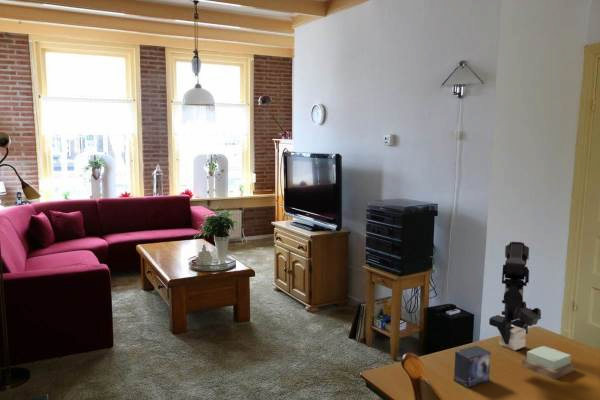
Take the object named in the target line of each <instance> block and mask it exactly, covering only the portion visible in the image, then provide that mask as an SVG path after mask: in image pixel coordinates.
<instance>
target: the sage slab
mask: <svg viewBox="0 0 600 400" xmlns="http://www.w3.org/2000/svg"><path fill="white" fill-rule="evenodd" d="M571 355H572V354H569V353H566V352H563V351H560V350H558V349H554V348H552V347H549V346H546V345H541V346H539V347H536V348H533V349H530V350H528V351H526V358H527V360H529V361H532V362H534V363H536V364H539V365H541V366H544V367H546V368H549V369H551V370H556V369H558V368H560V367H563V366H565V365H568V364H570V363H571V359H572V358H571Z"/></svg>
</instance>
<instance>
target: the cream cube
mask: <svg viewBox="0 0 600 400" xmlns="http://www.w3.org/2000/svg"><path fill="white" fill-rule="evenodd" d="M511 326H512V327H514V328H513V329H512V330H511V331H510V338H509V343H508V344H505V342H504V340H503V338H502V336H501V334H500V332H499V337H498V345H499V346H502V347H504V346H505V347H504V348H508V349H509V350H512V349H513V351H515V350H517V349H519V348H522V347H525V346H526V335H527V334H526V329H523V328H520V327H517V326H514V325H511ZM525 348H526V347H525ZM522 349H523V348H522ZM517 351H518V350H517Z"/></svg>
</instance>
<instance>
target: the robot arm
mask: <svg viewBox="0 0 600 400" xmlns="http://www.w3.org/2000/svg"><path fill="white" fill-rule="evenodd" d="M504 249H505V250H504V258H505V263H504V264H503V265H502V273H501V274H502V275H501V284H504V285H505V286H504V289H505V290H504V294H503V299H501V304H504V308H503V309H504V310H501V315H499V314H496V315H494V316H491V317H490V318H489V319H488V322H489V323H488V324H489V325H490V326H493V327H495V328H497V330H498V332H499V333H500V334H501V336H502V338H503V340H504V342H505V344H508V343H509V338H510V331H511V330H512V329H513V328H514V327H512V326H511V325H514V326H517V327H520V328H523V329H526V335H527V334H528V332H529V327H532V326H534V325H537V324H538V321H539V320H541V319H542V317H541V316H542V311H541V309H540V308H539V307H534V308H533V309H532V308H531V307H530V308H528V307H527V303H526V301H524V287H527V286H528V285H527V284H529V281H530V280H529V279H530V269H529V267H528V266H526V265H527V261H528V260H530V247H528V246H527V245H525V243H524V242H523V241H510V242H509V244H507V245H505V248H504ZM503 347H504V348H506V347H505V346H503ZM525 348H527V347H526V345H525V347H522V348H519V349H517V350H513V349H511V350H513V351H515V352H516V351H519V350H522V349H525Z"/></svg>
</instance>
